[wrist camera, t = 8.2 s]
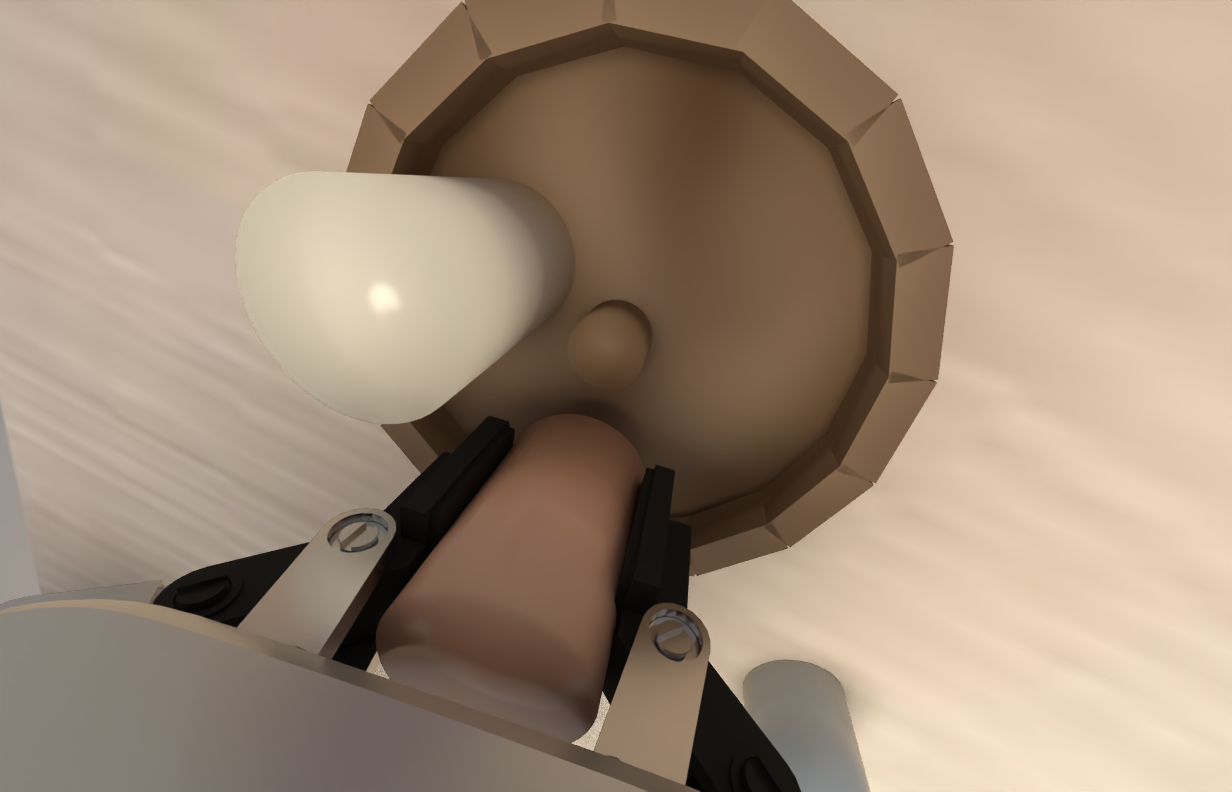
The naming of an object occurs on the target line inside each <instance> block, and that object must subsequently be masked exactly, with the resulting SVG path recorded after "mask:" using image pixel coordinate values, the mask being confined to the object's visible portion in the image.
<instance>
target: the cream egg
mask: <svg viewBox="0 0 1232 792" xmlns="http://www.w3.org/2000/svg"><path fill="white" fill-rule="evenodd" d="M236 273H237V281H238V285H239V290H240V294H241V298H242V301H243V304H244V306H245V309H246V312H247V315H248V317H249V319H250V321H251V323H252V326H253V328H254V330H255V331H256V333H257V335H258V337H259V338H260V340H261V342H262V343H263V345H264V346H265V348H266V349H267V351H268V352H269V354H270V355H271V357H272V358H273V359H274V360H275V361H276V363H277V364H278V365H279V366H280V368H281V369H282V370H283V371H284V372H285V373H286V374H287V375H288V376H289V377H290V378H291V379H292V380H293V381H294V382H295V383H296V384H297V385H299V386H300V387H301V388H302V389H303V390H304V391H305V392H307V393H308V394H310V395H311V396H312V397H314V398H315V399H316V400H318V401H320V402H321V403H323V404H325V405H326V406H328V407H329V408H331V409H333V410H335V411H338V412H340V413H342V414H344V415H347V416H349V417H352V418H355V419H358V420H362V421H366V422H370V423H379V424H400V423H407V422H411V421H414V420H418V419H421V418H423V417H425V416H427V415H429V414H431V413H432V412H434V411H435V410H436V409H438V408H439V407H441V406H442V405H443V404H444V403H446V402H447V401H448V400H449V399H451V398H452V397H453V396H454V395H455V394H457V393H458V392H459V391H460V390H462V389H463V388H464V387H465V386H467V385H468V384H469V383H470V382H471V381H473V380H474V379H475V378H476V377H478V376H479V375H480V374H481V373H483V372H484V371H485V370H486V369H488V368H489V367H490V366H491V365H492V364H494V363H495V362H496V361H497V360H499V359H500V358H501V357H502V356H504V355H505V354H506V353H507V352H508V351H510V350H511V349H512V348H513V347H515V346H516V345H517V344H518V343H520V342H521V341H522V340H523V339H524V338H526V337H527V336H528V335H529V334H531V333H532V332H533V331H534V330H536V329H537V328H538V327H539V326H541V325H542V324H543V323H544V322H545V321H547V320H548V319H549V318H550V317H552V316H553V315H554V314H555V313H556V312H557V311H558V310H559V309H560V308H561V306H562V305H563V304H564V302H565V300H566V299H567V297H568V295H569V293H570V290H571V287H572V284H573V280H574V274H575V254H574V247H573V243H572V239H571V236H570V234H569V231H568V229H567V226H566V224H565V223H564V221H563V219H562V217H561V216H560V214H559V213H558V211H557V210H556V209H555V208H554V206H553V205H552V204H551V203H550V202H549V201H548V200H547V199H546V198H545V197H543V196H542V195H541V194H540V193H538V192H537V191H535V190H534V189H532V188H530V187H528V186H526V185H524V184H522V183H519V182H516V181H512V180H506V179H491V178H468V177H444V176H420V175H397V174H373V173H350V172H326V171H306V172H300V173H294V174H291V175H288V176H285V177H282V178H279V179H278V180H276V181H274V182H273V183H271V184H269V185H268V186H266V187H265V188H264V189H263V190H262V191H261V192H260V193H259V194H258V195H257V196H256V197H255V198H254V200H253V201H252V202H251V204H250V205H249V206H248V208H247V210H246V212H245V214H244V216H243V219H242V221H241V224H240V228H239V231H238V235H237V242H236Z"/></svg>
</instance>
